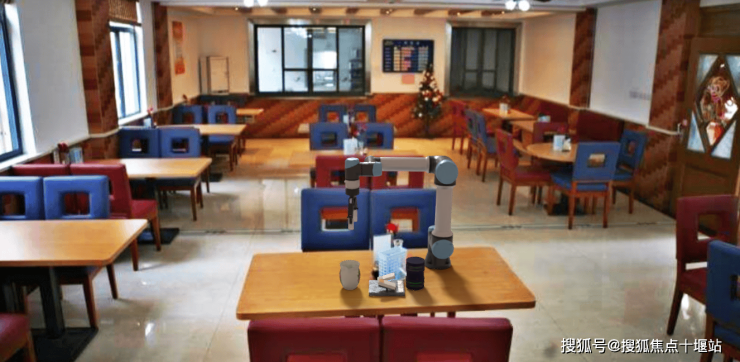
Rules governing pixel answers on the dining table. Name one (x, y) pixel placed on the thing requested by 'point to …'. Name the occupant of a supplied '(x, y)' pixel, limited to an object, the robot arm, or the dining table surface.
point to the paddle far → (388, 276)
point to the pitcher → (349, 274)
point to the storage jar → (415, 273)
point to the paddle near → (386, 283)
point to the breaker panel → (386, 289)
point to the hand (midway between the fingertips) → (352, 225)
